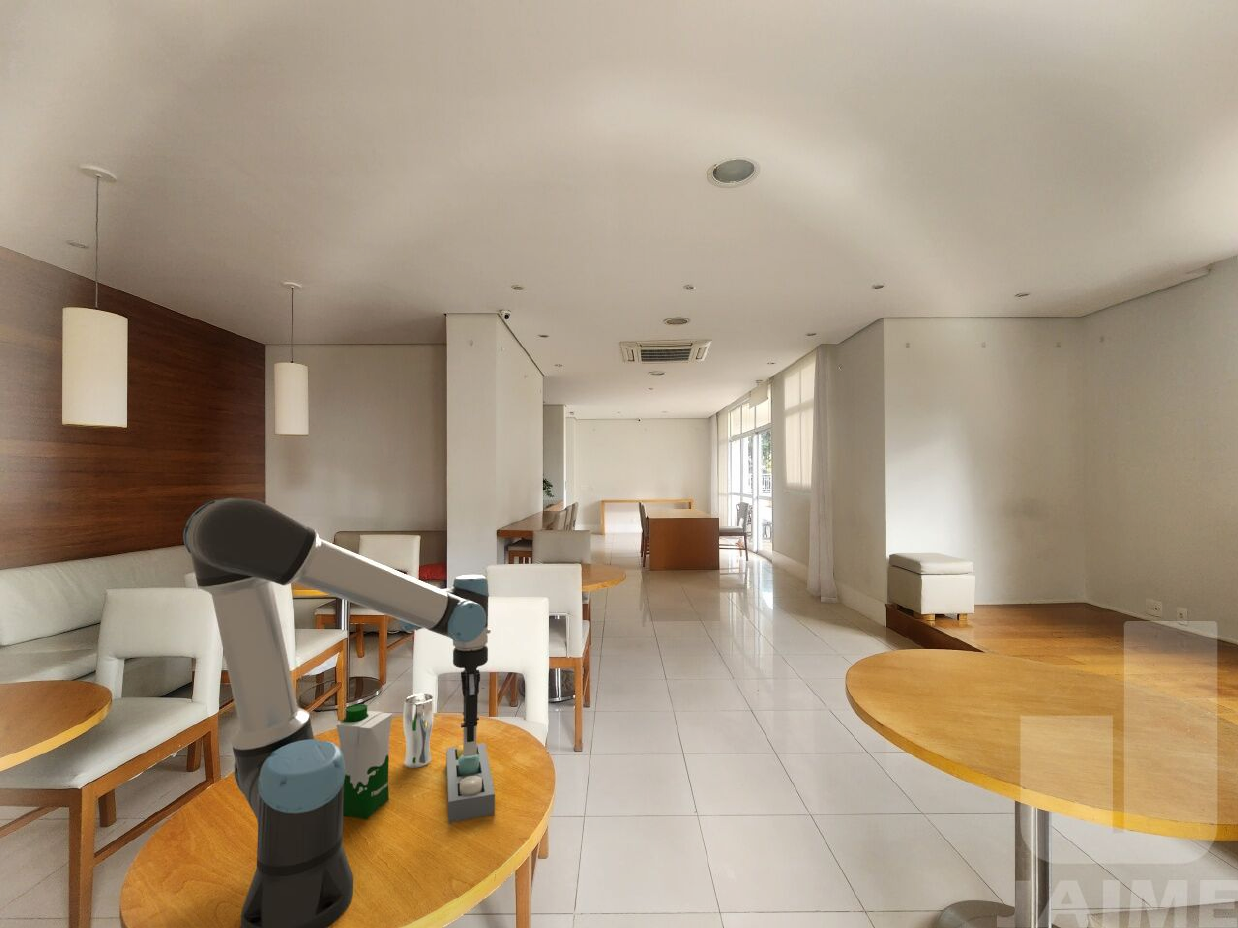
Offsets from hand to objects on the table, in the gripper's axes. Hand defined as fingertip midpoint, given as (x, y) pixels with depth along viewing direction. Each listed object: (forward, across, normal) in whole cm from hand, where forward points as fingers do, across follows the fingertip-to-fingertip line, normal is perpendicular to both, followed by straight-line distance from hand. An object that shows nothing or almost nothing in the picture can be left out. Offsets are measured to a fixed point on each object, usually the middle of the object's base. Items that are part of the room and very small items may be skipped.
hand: (469, 753), depth 121 cm
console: (+7, 0, 0) cm, 7 cm away
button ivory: (+5, -8, 0) cm, 10 cm away
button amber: (+5, +8, 0) cm, 10 cm away
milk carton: (+7, -1, +21) cm, 22 cm away
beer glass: (+7, +16, +11) cm, 21 cm away
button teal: (+4, 0, 0) cm, 4 cm away
